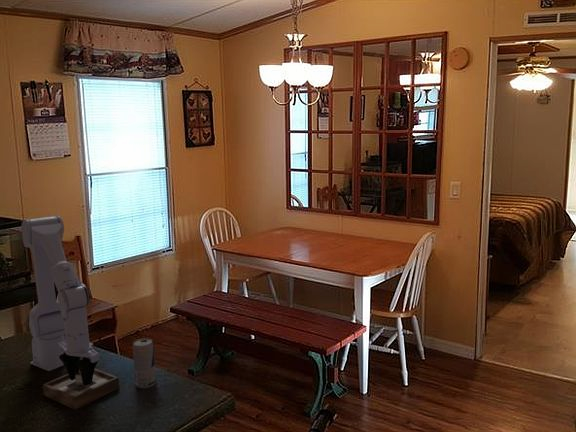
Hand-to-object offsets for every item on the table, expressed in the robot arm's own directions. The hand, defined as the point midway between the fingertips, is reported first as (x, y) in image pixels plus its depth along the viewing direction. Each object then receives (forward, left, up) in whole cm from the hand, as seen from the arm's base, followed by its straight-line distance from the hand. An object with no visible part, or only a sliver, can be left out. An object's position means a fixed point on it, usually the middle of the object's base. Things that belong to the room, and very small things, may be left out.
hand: (81, 381), depth 148 cm
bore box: (0, 0, -3) cm, 3 cm away
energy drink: (+11, +12, -3) cm, 17 cm away
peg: (0, +1, -3) cm, 3 cm away
